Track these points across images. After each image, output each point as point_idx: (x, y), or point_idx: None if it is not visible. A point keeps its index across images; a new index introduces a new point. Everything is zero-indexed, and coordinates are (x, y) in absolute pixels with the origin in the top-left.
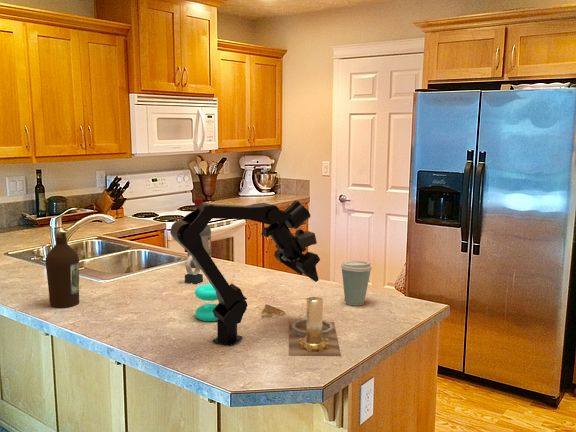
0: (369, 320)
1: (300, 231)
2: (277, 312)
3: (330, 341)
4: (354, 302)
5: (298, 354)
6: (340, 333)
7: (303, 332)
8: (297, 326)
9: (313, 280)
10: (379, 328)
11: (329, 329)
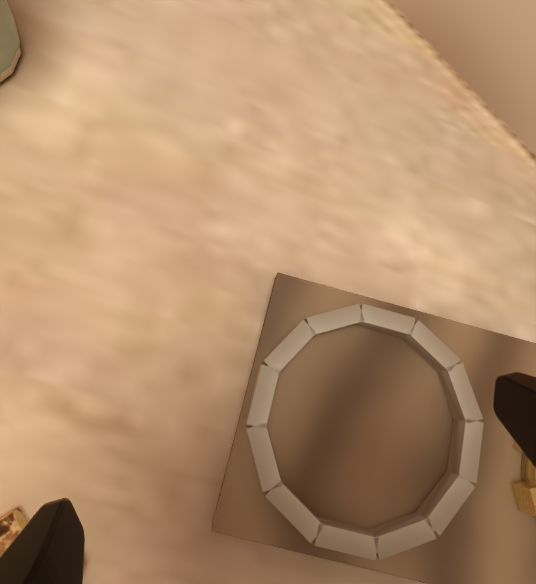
0: (247, 94)
1: None
2: None
3: None
4: (10, 57)
5: None
6: (386, 284)
7: (460, 505)
8: (301, 496)
9: (530, 453)
10: (354, 99)
11: (437, 347)
